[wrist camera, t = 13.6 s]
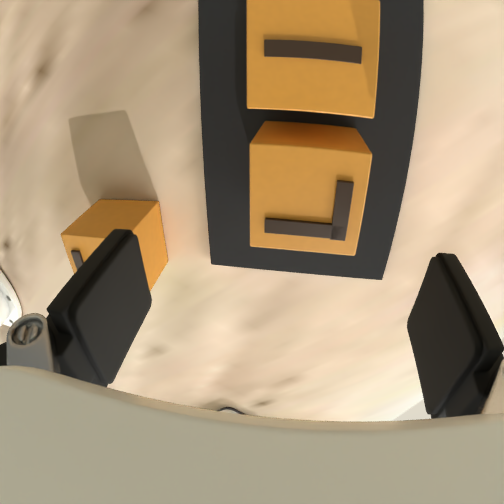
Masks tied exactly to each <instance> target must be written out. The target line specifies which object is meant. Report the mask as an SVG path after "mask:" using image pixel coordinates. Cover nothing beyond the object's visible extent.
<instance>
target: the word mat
mask: <svg viewBox="0 0 504 504" xmlns="http://www.w3.org/2000/svg"><path fill="white" fill-rule="evenodd" d="M379 1H380V38H379V61H378V77H377V90H376V102H375V113H374V118H372V119H371V118H363V117H356V116H348V115H339V114H329V113H318V112H306V111H292V110H273V109H249V108H247V0H199V66H200V96H201V120H202V140H203V159H204V175H205V190H206V205H207V218H208V231H209V244H210V255H211V264H214V265H224V266H234V267H244V268H254V269H264V270H275V271H286V272H296V273H307V274H318V275H329V276H341V277H352V278H364V279H376V280H382V278H383V274H384V271H385V267H386V264H387V260H388V256H389V253H390V249H391V245H392V241H393V237H394V233H395V229H396V225H397V221H398V216H399V212H400V207H401V203H402V198H403V193H404V188H405V183H406V178H407V173H408V167H409V162H410V156H411V150H412V144H413V137H414V130H415V123H416V115H417V107H418V98H419V89H420V78H421V65H422V48H423V0H379ZM265 121H281V122H297V123H310V124H321V125H332V126H341V127H350V128H356V129H357V131H358V132H359V134H360V136H361V137H362V139H363V140H364V142H365V143H366V145H367V147H368V148H369V150H370V151H371V153H372V161H371V168H370V175H369V181H368V188H367V194H366V200H365V206H364V212H363V217H362V223H361V228H360V233H359V239H358V244H357V249H356V253H355V255H354V256H351V255H340V254H329V253H319V252H308V251H297V250H285V249H274V248H263V247H252V246H250V143H251V141H252V140H253V138H254V137H255V135H256V134H257V132H258V131H259V129H260V128H261V126H262V125H263V123H264V122H265Z"/></svg>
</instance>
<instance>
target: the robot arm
mask: <svg viewBox="0 0 504 504" xmlns="http://www.w3.org/2000/svg"><path fill="white" fill-rule="evenodd" d="M151 302H152V298H151V294H150V290H149V286H148V281H147V277H146V273H145V268H144V264H143V259H142V255H141V250H140V245H139V240H138V237H137V235H136V234H133V232H132V230H130V229H114V230H112V231H111V233H110V234H109V235H108V236H107V237H106V238H105V239H104V240H103V241H102V242H101V244H100V245H99V246H98V247H97V248H96V249H95V250H94V252H93V253H92V254H91V255H90V256H89V257H88V258H87V260H86V261H85V262H84V263H83V264H82V265H81V267H80V268H79V269H78V270H77V271H76V273H75V274H74V275H73V276H72V277H71V279H70V280H69V281H68V282H67V283H66V285H65V286H64V287H63V288H62V290H61V291H60V292H59V293H58V295H57V296H56V297H55V299H54V300H53V301H52V302H51V304H50V305H49V306H48V308H47V311H48V313H49V315H48V316H47V318H45V317H44V316H43V315H41V314H38V313H31V314H27V315H24V316H22V310H21V305H20V303H19V300H18V297H17V295H16V293H15V291H14V289H13V288H12V286H11V284H10V283H9V281H8V280H7V278H6V277H5V275H4V274H3V273H2V271H1V270H0V327H1V325H2V324H4V325H7V326H11V327H10V329H9V331H8V333H7V342H5V343H3V344H1V345H0V504H504V357H503V354H502V352H503V351H504V346H503V344H502V341H501V339H500V337H499V335H498V333H497V331H496V328H495V326H494V324H493V322H492V320H491V318H490V316H489V314H488V312H487V310H486V308H485V306H484V304H483V302H482V301H481V299H480V297H479V295H478V293H477V291H476V289H475V288H474V286H473V284H472V282H471V280H470V279H469V277H468V275H467V273H466V272H465V270H464V268H463V267H462V265H461V263H460V261H459V260H458V258H457V257H456V255H455V254H447V253H438V254H437V255H436V257H432V258H431V260H430V263H429V266H428V269H427V271H426V274H425V277H424V280H423V283H422V285H421V288H420V291H419V293H418V296H417V298H416V301H415V304H414V306H413V309H412V311H411V313H410V316H409V318H408V322H407V329H408V333H409V337H410V341H411V345H412V349H413V353H414V357H415V361H416V365H417V370H418V374H419V379H420V383H421V388H422V393H423V398H424V403H425V407H426V412H427V413H428V414H431V419H420V420H405V421H378V422H339V421H311V420H294V419H281V418H270V417H260V416H251V415H243V414H235V413H227V412H221V411H214V410H208V409H202V408H196V407H190V406H185V405H179V404H174V403H169V402H164V401H160V400H155V399H151V398H146V397H142V396H138V395H134V394H130V393H126V392H122V391H118V390H114V389H111V388H107V385H108V384H111V383H112V382H113V381H114V379H115V377H116V375H117V373H118V371H119V369H120V367H121V365H122V362H123V360H124V358H125V356H126V354H127V352H128V350H129V348H130V346H131V344H132V342H133V340H134V338H135V336H136V334H137V332H138V331H139V329H140V327H141V325H142V323H143V321H144V319H145V317H146V315H147V313H148V311H149V309H150V307H151Z"/></svg>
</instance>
